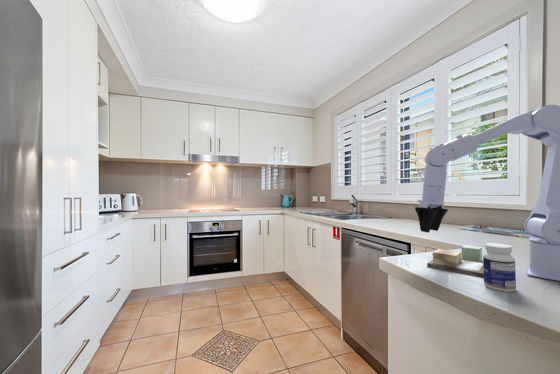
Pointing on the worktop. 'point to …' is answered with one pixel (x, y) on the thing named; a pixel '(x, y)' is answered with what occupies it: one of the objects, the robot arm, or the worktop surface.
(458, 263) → the board
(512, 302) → the worktop surface
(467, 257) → the sage block
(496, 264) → the pill bottle
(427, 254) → the worktop surface
